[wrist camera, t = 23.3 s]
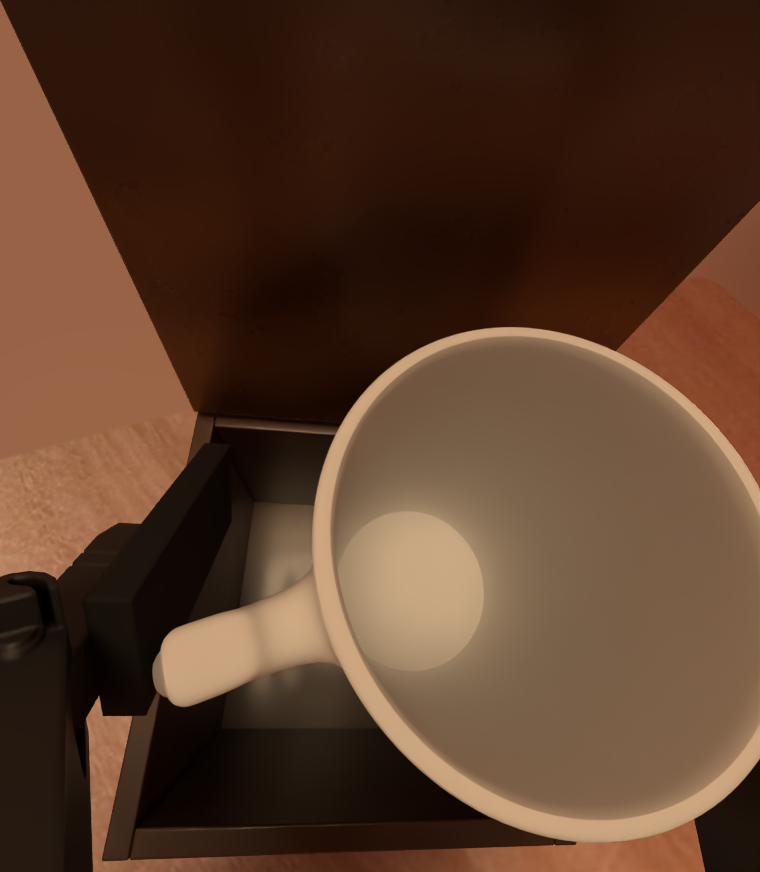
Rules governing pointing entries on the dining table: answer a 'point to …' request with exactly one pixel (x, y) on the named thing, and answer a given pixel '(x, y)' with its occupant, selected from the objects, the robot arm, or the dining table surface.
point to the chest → (277, 708)
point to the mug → (526, 587)
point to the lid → (397, 171)
